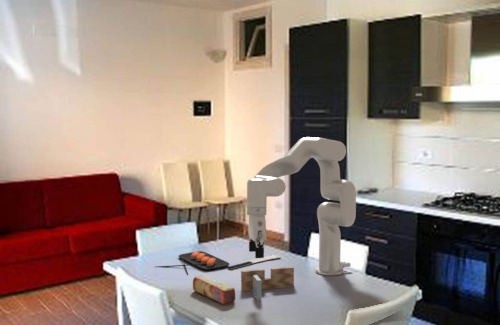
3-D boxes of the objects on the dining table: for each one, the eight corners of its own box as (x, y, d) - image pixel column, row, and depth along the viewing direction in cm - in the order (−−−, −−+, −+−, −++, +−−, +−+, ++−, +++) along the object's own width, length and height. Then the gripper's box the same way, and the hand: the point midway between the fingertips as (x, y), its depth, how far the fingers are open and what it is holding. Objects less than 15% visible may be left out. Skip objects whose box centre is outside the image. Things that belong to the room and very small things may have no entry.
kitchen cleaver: (269, 253, 268) (282, 255, 260) (269, 256, 268) (282, 258, 260) (219, 265, 248) (232, 267, 240) (219, 268, 248) (232, 271, 240)
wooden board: (292, 285, 220) (292, 266, 219) (293, 286, 219) (293, 267, 218) (241, 289, 215) (241, 270, 214) (242, 291, 213) (242, 271, 213)
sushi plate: (232, 268, 246) (232, 260, 246) (173, 279, 229) (173, 271, 229) (201, 254, 270) (201, 246, 270) (147, 264, 253) (146, 256, 253)
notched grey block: (253, 295, 209) (253, 275, 208) (257, 294, 209) (256, 275, 208) (257, 300, 203) (257, 280, 202) (261, 300, 203) (261, 280, 202)
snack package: (237, 302, 201) (236, 285, 200) (223, 307, 197) (222, 289, 196) (205, 288, 217) (204, 272, 217) (191, 292, 213) (191, 275, 213)
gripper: (272, 214, 195) (271, 260, 196) (260, 206, 212) (259, 248, 213) (252, 215, 193) (252, 261, 195) (242, 207, 210) (241, 249, 211)
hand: (256, 254), depth 204 cm, fingers open, 9 cm apart
